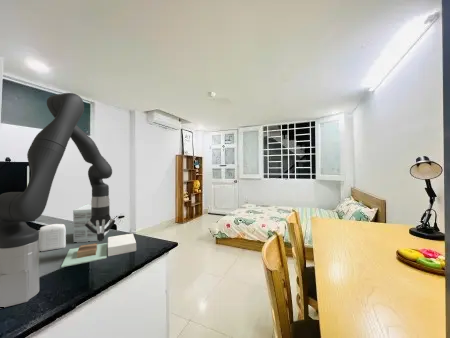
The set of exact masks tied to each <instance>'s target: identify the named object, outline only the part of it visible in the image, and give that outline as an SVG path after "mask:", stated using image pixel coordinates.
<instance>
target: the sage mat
mask: <svg viewBox="0 0 450 338" xmlns="http://www.w3.org/2000/svg"><path fill="white" fill-rule="evenodd" d="M78 249H79V247H74V248H69V249H68V251H67V253H66V255H65V258H64V259H63V262H62V264H61V266H60V267H61V268H65V267H70V266H76V265H80V264H86V263H90V262H96V261H101V260H104V259H107V257H108V242H105V243H97V251H96V255H92V256H87V257H82V258H77V252H78Z"/></svg>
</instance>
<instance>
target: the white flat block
mask: <svg viewBox="0 0 450 338" xmlns="http://www.w3.org/2000/svg"><path fill="white" fill-rule="evenodd" d="M136 251H137V242H136V239H135V235H134V233H133V232H131V233H126V234H120V235H115V236H114V235H113V236H107V257H112V256H116V255H122V254H127V253H132V252H133V253H134V252H136Z"/></svg>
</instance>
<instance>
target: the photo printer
mask: <svg viewBox="0 0 450 338" xmlns="http://www.w3.org/2000/svg"><path fill="white" fill-rule="evenodd" d="M66 228H67V227H66V225H65V224H63V223H53V224H48V225H43V226H41V227H40V228H39V231H38V233H39V252H40V251H41V252H46V251H53V250H59V249H63V248H66V245H67V241H66V240H67V238H66V237H67V231H66V230H67V229H66Z"/></svg>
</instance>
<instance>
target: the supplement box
mask: <svg viewBox="0 0 450 338" xmlns="http://www.w3.org/2000/svg"><path fill="white" fill-rule="evenodd" d="M72 211H73V212H72V214H73V215H72V217H73V223H72V224H73V225H72V226H73V227H72V229H73V243H74V242H77V243H87V242H88V241H90V242H100V241H99V240H97V234H96V233H92V232H91V231H90V230H89V229H88V228H87V227H86V226H85V224H86V223H88V222H89V221H90V219H91V203H89V204H88V203H87V204H85V205H82V206H80V207H78V208H76V209H73V210H72ZM91 224H92V223H91ZM109 224H110V221H109V222H108V223H107V224H106V225H105V228H104V229H106V228H107V226H108V225H109ZM91 226H92V227H93V228H94V229H95V230H97V228H96V226H94V225H93V224H92V225H91ZM101 229H102V226H100V233H101ZM109 232H110V229H109V230H108V231H107V232H105V233H104V236H106V235H107V234H108V233H109ZM88 243H89V242H88Z"/></svg>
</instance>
